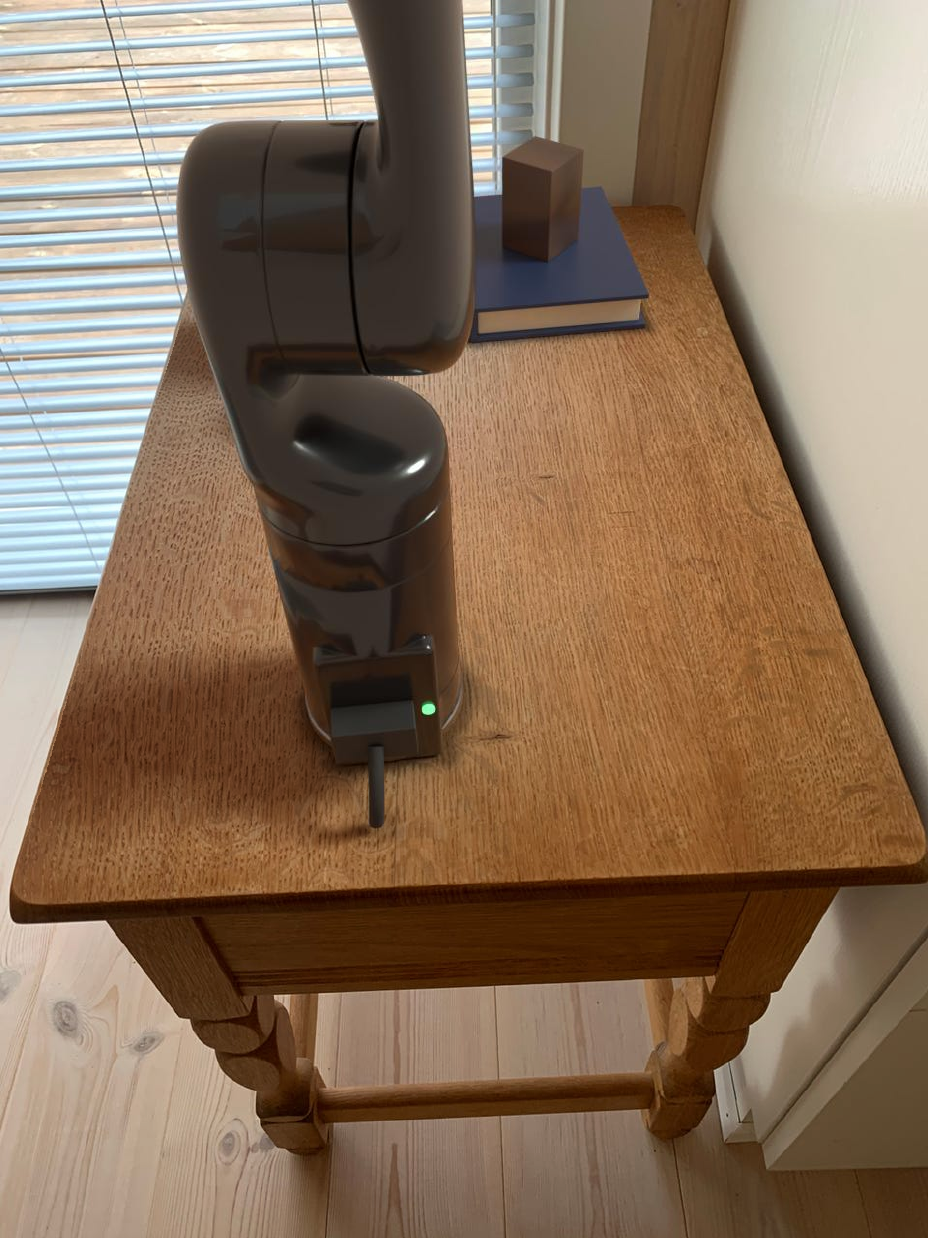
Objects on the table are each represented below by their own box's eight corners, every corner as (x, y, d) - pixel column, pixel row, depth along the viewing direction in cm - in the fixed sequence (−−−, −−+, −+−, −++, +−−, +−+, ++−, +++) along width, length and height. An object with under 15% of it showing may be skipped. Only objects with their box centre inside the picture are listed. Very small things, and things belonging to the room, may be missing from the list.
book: (645, 327, 85) (649, 294, 83) (470, 342, 84) (469, 309, 82) (599, 217, 98) (601, 185, 96) (448, 230, 98) (446, 198, 95)
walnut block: (547, 262, 87) (551, 171, 81) (501, 246, 89) (501, 156, 83) (578, 238, 89) (584, 149, 83) (532, 224, 91) (535, 135, 85)
